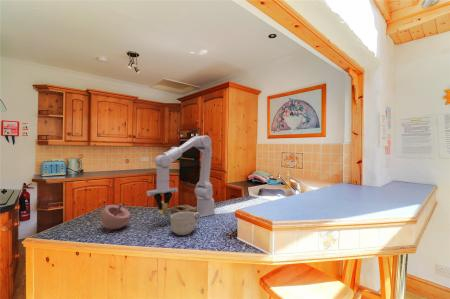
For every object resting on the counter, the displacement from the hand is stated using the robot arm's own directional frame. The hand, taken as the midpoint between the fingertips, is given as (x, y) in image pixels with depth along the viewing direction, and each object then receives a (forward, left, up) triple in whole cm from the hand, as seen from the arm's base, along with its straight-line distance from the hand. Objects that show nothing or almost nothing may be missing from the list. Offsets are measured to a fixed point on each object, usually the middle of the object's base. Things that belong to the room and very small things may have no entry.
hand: (162, 208), depth 98 cm
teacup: (-5, +14, -8) cm, 17 cm away
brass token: (0, 0, -2) cm, 2 cm away
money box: (-11, 0, -8) cm, 13 cm away
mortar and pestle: (+18, -9, -8) cm, 22 cm away
